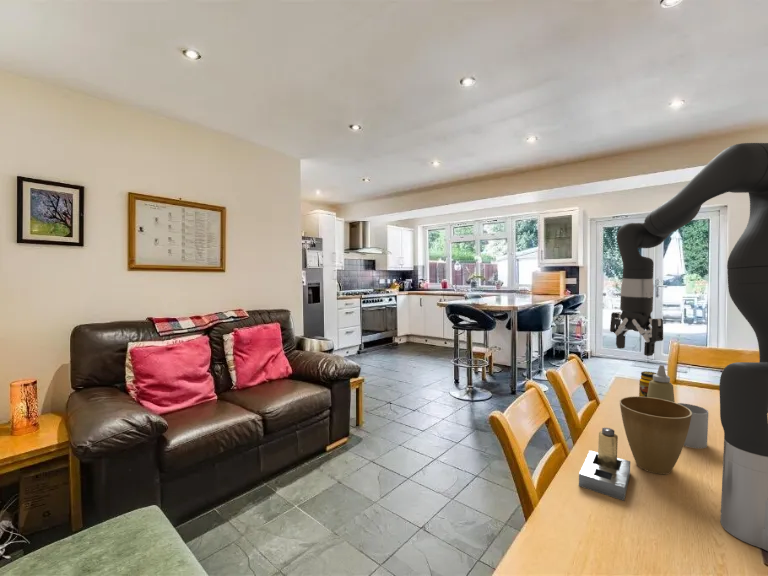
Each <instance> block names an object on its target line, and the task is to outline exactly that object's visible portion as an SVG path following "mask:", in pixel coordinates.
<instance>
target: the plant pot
mask: <svg viewBox="0 0 768 576" xmlns="http://www.w3.org/2000/svg"><path fill="white" fill-rule="evenodd" d="M678 403H679V402H671V401H668V400H663V399H658V398H652V397H640V396H639V395H637V396H636V395H635V396H625V397H623V398H620V399H619V406H620V414H621V420H622V423H623V428H624V432H625V435H626V439H627V442H628V446H629V448H630V452H631V454H632V457H633V458H634V461H635V464H636V465H637V466H638V467H639V468H641V469H643V470H644V471H647V472H650V473H653V474H659V475H668V474H671V472H672V471H673V469H674V467H675V466H676V464H677V462H678V460H679V458H680V456H681V454H682V451H683V448H684V447H685V446H684V443H685V440H686V437H687V434H688V430H689V426H690V422H691V417H692V412H691V410H690V409H688V408H687V407H685V406H683V405H680V404H678Z"/></svg>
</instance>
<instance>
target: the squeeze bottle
mask: <svg viewBox="0 0 768 576" xmlns="http://www.w3.org/2000/svg"><path fill="white" fill-rule="evenodd" d="M656 373H657V374H654V375H653V380H651V381H650V382H649V387H648V393H647V397H652V398H658V399H663V400H668V401H671V402H675V390H674V384H673V383H672V382H671V377H670V376H669V375H667V373H666V369H665V365H663V364H659V366H658V369H657V372H656ZM675 403H676V402H675Z"/></svg>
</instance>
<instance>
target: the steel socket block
mask: <svg viewBox="0 0 768 576" xmlns="http://www.w3.org/2000/svg"><path fill="white" fill-rule="evenodd" d="M630 475H631V460H627V459H623V458H619V457H617V470H615V469H611V468H608V467H604V466H601V465H598V451H593V450H588V453H587V455H586V457H585V460H584V462H583V464H582V466H581V469H580V470H579V473H578V487H581V488H583V489H587V490H590V491H592V492H595V493H598V494H602V495H605V496H608V497H612V498H614V499H618V500H620V501H625V499H626V494H627V490H628V485H629V480H630Z"/></svg>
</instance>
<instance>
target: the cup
mask: <svg viewBox="0 0 768 576" xmlns="http://www.w3.org/2000/svg"><path fill="white" fill-rule="evenodd" d="M677 403H678V404H680V405H683V406H685V407H687V408H688V409H690V410H691V412H692V417H691V422H690V426H689V430H688V434H687V437H686V440H685V443H684V446H683V447H686V448H691V449H692V448H693V449H705V448H707V447H708V435H709V434H708V432H709V431H708V429H709V411H708V410H707V409H706V408H704V407H701V406H698V405H694V404H690V403H684V402H683V403H682V402H677Z"/></svg>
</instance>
